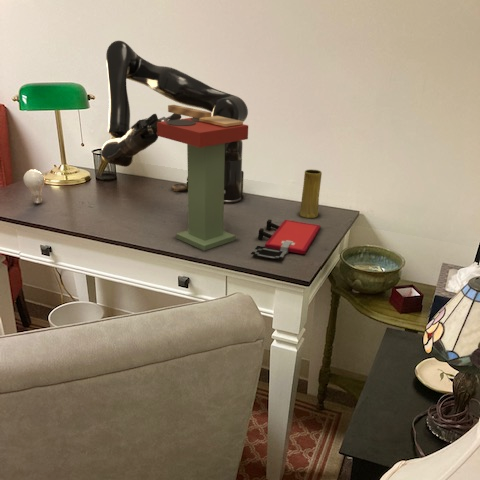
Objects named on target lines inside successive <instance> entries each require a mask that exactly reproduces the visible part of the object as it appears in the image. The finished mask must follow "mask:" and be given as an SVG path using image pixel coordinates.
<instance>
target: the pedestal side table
mask: <svg viewBox="0 0 480 480" xmlns="http://www.w3.org/2000/svg"><path fill="white" fill-rule="evenodd" d="M157 136H158V137H160V138H164V139H168V140H171V141H174V142H178V143H182V144H186V151H187V153H186V154H187V156H186V157H187V159H186V160H187V177H188V190H187V211H188V212H187V213H188V217H187V218H188V229H187V230H183V231H180V232H177V233H176V238H175V239H177V240H179V241H181V242H184V243H185V244H188V245H191V246H192V247H194V248H197V249H199V250H201V251H208V250H211V249H213V248H217V247H219V246H222V245H225V244H228V243H231V242H234V241H236V234H233V233H230V232H228V231H225V230H224V214H225V213H224V212H225V211H224V207H225V203H224V165H225V143H229V142H234V141H240V140H242V141H245V140H248V139H249V125H248V124H244V123H243V124H242V125H235V126H228V127H223V126H219V125H215V124H210V123H206V122H201V121H199V119H198V118H193V117H187V118H186V117H185V118H181V119H178V120H170V121H164V120H162V122H157Z"/></svg>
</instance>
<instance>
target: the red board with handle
mask: <svg viewBox="0 0 480 480" xmlns="http://www.w3.org/2000/svg"><path fill="white" fill-rule="evenodd" d="M272 221H273V220H272V219H267V220H266V226H265V228H263V227H261V228H259V229H258V236H257V239H258V240H259V241H261V240H263V238H264V237H265V238H267V239H268V240H267V241H266V242H265V245H264V246H262V245H257V246H256V247H255V248H254V249H253V250H252V252H250V255H254V256H258V257H264V258H270V259H276V260H282V259H283V258H284V257H285V255H287V254H289V252H290V253H294V254H295V253H296V254H300V255H306V253H307V251H308V249H309V248H310V246H311V244H312V243H313V242H314V240H315V238H316V236H317V234H318V233H319V231H320V230H321V224H320V225H319V224H313V223H307V222H302V221H296V220H288V219H284V221H283V222H282V223H281V224H280V225H278V224H276V223H273V222H272ZM272 228H273V229H275V231H274V232H273V234H270V233H269V232H266V231H270V230H271V229H272ZM265 230H266V231H265Z"/></svg>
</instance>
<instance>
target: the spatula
mask: <svg viewBox="0 0 480 480" xmlns="http://www.w3.org/2000/svg"><path fill="white" fill-rule="evenodd" d="M167 112H168V113H171V114H174V113H175V114H180V115H181V116H185V117H188V118H198V119H199V121H201V122H206V123H210V124H215V125H219V126H223V127H228V126H235V125H242V124H244V122H243V121H240V120H235V119H230V118H225V117H221V116H212V112H210V111H207V110H203V109H198V108H193V107H187V106H184V105H178V104H168V105H167Z"/></svg>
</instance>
